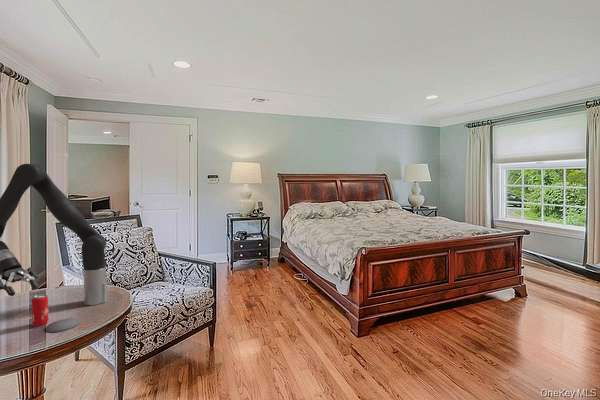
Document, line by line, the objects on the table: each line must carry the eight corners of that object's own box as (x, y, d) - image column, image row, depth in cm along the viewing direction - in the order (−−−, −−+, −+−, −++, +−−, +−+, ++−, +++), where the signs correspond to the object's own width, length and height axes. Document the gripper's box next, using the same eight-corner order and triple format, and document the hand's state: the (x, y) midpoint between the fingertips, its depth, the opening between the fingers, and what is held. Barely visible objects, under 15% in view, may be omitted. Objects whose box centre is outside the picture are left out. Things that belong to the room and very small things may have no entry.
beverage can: (38, 321, 132) (37, 294, 131) (51, 321, 132) (50, 294, 132) (29, 327, 127) (28, 298, 126) (42, 327, 127) (41, 298, 127)
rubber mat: (82, 318, 136) (82, 316, 136) (75, 329, 126) (75, 327, 126) (51, 322, 132) (51, 320, 131) (41, 334, 121) (41, 332, 121)
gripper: (-12, 260, 126) (9, 291, 123) (28, 253, 140) (47, 280, 137) (-20, 272, 128) (0, 302, 125) (19, 263, 141) (39, 291, 139)
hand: (25, 291), depth 131 cm, fingers open, 8 cm apart
